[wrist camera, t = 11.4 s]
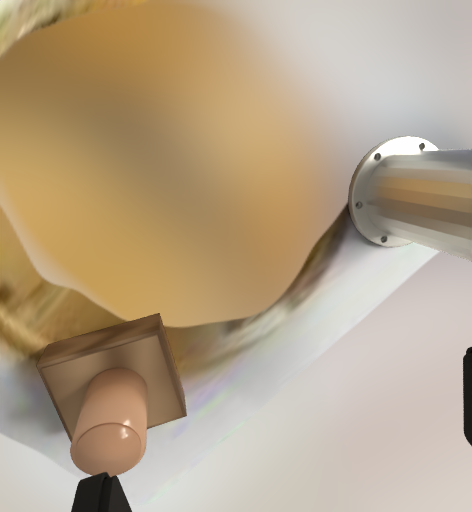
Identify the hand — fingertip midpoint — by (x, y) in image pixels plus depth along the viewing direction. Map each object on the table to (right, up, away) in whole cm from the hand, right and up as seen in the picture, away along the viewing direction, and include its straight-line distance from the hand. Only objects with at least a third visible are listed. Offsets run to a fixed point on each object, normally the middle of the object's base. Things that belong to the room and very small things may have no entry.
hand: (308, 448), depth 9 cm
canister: (-14, -9, +27) cm, 32 cm away
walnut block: (-15, -8, +31) cm, 35 cm away
